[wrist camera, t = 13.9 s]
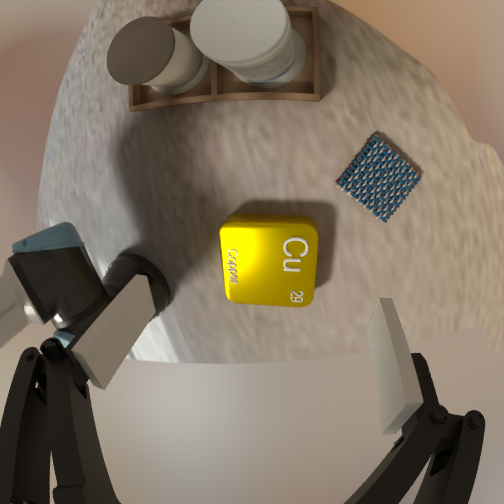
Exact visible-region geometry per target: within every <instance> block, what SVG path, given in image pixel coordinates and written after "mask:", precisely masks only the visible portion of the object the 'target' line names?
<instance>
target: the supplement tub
mask: <svg viewBox="0 0 504 504" xmlns="http://www.w3.org/2000/svg"><path fill="white" fill-rule="evenodd" d="M190 34H191V37H192V40H193V42H194V44H195V45H196V46H197V48H198V49H199V50H200V51H201V52H202V53H203V54H204V55H206V56H207V57H208V58H210V59H212V60H213V61H215V62H217V63H218V64H220V65H222V66H223V67H225V68H227V69H229V70H230V71H232V72H233V73H235V74H237V75H238V76H240V77H242V78H244V79H246V80H249V81H253V82H268V81H272V80H275V79H277V78H279V77H281V76H283V75H284V74H285V73H286V72H287V71H288V70H289V69H290V68H291V66H292V65H293V62H294V60H295V54H296V51H295V44H294V38H293V33H292V27H291V22H290V18H289V15H288V12H287V10H286V8H285V7H284V5H283V3H282V2H281V0H203V1H202V2H201V3H200V4H199V5H198V6H197V8H196V9H195V11H194V13H193V15H192V18H191V22H190Z"/></svg>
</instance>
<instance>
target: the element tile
mask: <svg viewBox="0 0 504 504" xmlns="http://www.w3.org/2000/svg"><path fill="white" fill-rule="evenodd" d="M318 239H319V238H318V229H317V224H316V221H315V220H314V219H313V218H311V217H309V216H305V215H274V214H233V215H230V216H229V217H228V218H227V219H226V220H225V221H224V223H223V224H222V226H221V227H220V230H219V243H220V253H221V262H222V271H223V280H224V288H225V294H226V296H227V298H228V299H229V300H230V301H232V302H235V303H241V304H254V305H268V306H284V307H305V306H308V305H309V304H311V302H312V301H313V298H314V288H315V278H316V266H317V253H318Z"/></svg>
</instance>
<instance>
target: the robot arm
mask: <svg viewBox="0 0 504 504" xmlns="http://www.w3.org/2000/svg"><path fill="white" fill-rule="evenodd" d="M84 245H85V244H84V242H82V240H81V238H80V236H79V234H78V232H77V230H76V228H75V226H74V225H73V224H72V223H70V222H63V223H60V224H57V225H55V226H52V227H50V228H47V229H45V230H42V231H40V232H38V233H35V234H33V235H31V236H29V237H27V238H24V239H22V240H20V241H18V242H16V243H14V244H13V245H12V252H13V253H14V255H12V256H11V257H9V258H8V259H7V260H6V262H5V266H4V271H3V274H2V275H1V276H0V349H1V348H2V347H3V346H4V345H5V344H7V343H8V342H9V341H10V340H11V339H12V338H13V337H14V336H16V335H17V334H18V333H19V332H20V331H22V330H23V329H24V328H25V327H26V326H27V325H29V324H31V323H33V324H38V325H42V326H43V325H44V324H45V323H47V322H48V321H49V320H51V321H52V323H53V324H54V326H55V327H56V329H57V331H55V332H54V335H53V337H52V338H49V339H46V340H45V341H44V342H43V343H42V345H41V346H40V350H41V352H42V354H40V352H39V351H38V349H37V348H35V347H30V348H27V349H26V350H25V351H23V353H22V355H21V357H20V359H19V362H18V365H17V368H16V371H15V374H14V377H13V380H12V383H11V387H10V390H9V394H8V397H7V401H6V405H5V409H4V413H3V417H2V422H1V426H0V504H50V491H49V490H50V484H49V483H50V480H49V479H50V455H51V452H52V458H53V464H54V470H55V475H56V480H57V487H56V488H54V489H53V499H54V502H55V504H121V503H120V502H119V501H118V499H117V497H116V495H115V492H114V490H113V487H112V484H111V481H110V478H109V475H108V472H107V469H106V465H105V462H104V458H103V455H102V451H101V448H100V443H99V439H98V436H97V431H96V427H95V422H94V417H93V412H92V406H91V400H90V394H89V387H88V384H87V383H86V382H87V381H88V379H90V381H91V382H92V384H93V385H94V386H96V387H99V388H101V389H103V390H105V389H106V387H107V385H108V384H109V382H110V380H111V379H112V377H113V376H114V374H115V373H116V371H117V369H118V368H119V366H120V365H121V363H122V362H123V360H124V359H125V357H126V356H127V354H128V352H129V351H130V349H131V348H132V346H133V345H134V343H135V342H136V340H137V339H138V337H139V336H140V334H141V333H142V331H143V330H144V328H145V327H146V325H147V324H148V323H149V322H150V321H151V320H152V319H154V318H157V317H158V316H160V315H161V314H162V313H163V311H164V310H165V308H166V307H167V305H168V303H169V300H170V292H169V287H168V284H167V282H166V280H165V278H164V277H163V275H162V274H161V272H160V271H159V270H158V269H157V268H156V267H155V266H154V265H153V264H152V263H150V262H149V261H147V260H146V259H144V258H142V257H140V256H137V255H132V254H125V255H121V256H119V257H118V258H116V259H115V260H114V261H113V262H112V263H111V264H110V265H109V267H108V269H107V271H106V275H105V276H104V278H103V280H102V281H101V279H100V277H99V276H98V274H97V272H96V270H95V268H94V266H93V264H92V262H91V260H90V257H89V255H88V253H87V251H86V249H85V246H84ZM367 339H368V344H369V350H370V355H371V361H372V367H373V373H374V380H375V387H376V395H377V402H378V411H379V420H380V431H381V435H385V434H396V433H397V432H398V431H399V430H400V429H401V428H402V436H401V437H400V438H399V439H398V440H397V441H396V442H395V443H394V444H395V445H394V446H393V448H392V449H391V451H390V452H389V453H388V454H387V456H386V457H385V458H384V459H383V461H382V462H381V463H380V464H379V466H378V467H377V468H376V469H375V470H374V472H373V473H372V474H371V475H370V476H369V477H368V479H367V480H366V481H365V482H364V483H363V484H362V485H361V486H360V487H359V489H358V490H357V491H356V492H355V493H354V494H353V495H352V496H351V497H350V498H349V499H348V500H347V501H346V502H345V503H344V504H398V503H399V502H400V501H401V499H402V498H403V497H404V495H405V494H406V493H407V492H408V490H409V489H410V487H411V486H412V485H413V483H414V482H415V480H416V479H417V477H418V476H419V474H420V473H421V471H422V470H423V468H424V466H425V465H426V463H427V462H428V460H429V458H430V457H431V459H430V462H429V465H428V468H427V471H426V473H425V476H424V479H423V481H422V484H421V486H420V489H419V491H418V494H417V496H416V499H415V500H414V503H413V504H468V501H469V499H470V495H471V492H472V489H473V485H474V481H475V478H476V474H477V470H478V465H479V461H480V455H481V450H482V445H483V438H484V430H485V419H484V416H483V415H482V414H481V413H480V412H478V411H476V410H472V411H469V412H468V413H467V414H466V415H465V416H460V415H454V414H450V413H448V411H447V409H446V408H445V407H443V406H442V405H440V404H439V402H438V398H437V395H436V391H435V388H434V384H433V381H432V378H431V374H430V372H429V368H428V365H427V362H426V360H425V358H424V357H423V356H422V355H421V353H410V350H409V347H408V344H407V341H406V338H405V335H404V332H403V329H402V326H401V323H400V320H399V317H398V314H397V311H396V309H395V306H394V303H393V301H392V298H379V299H378V302H377V306H376V309H375V312H374V315H373V318H372V321H371V324H370V327H369V330H368V332H367ZM36 382H37V384H38V387H37V388H36V387H35V386H36ZM431 455H432V456H431Z"/></svg>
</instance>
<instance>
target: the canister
mask: <svg viewBox="0 0 504 504" xmlns="http://www.w3.org/2000/svg"><path fill="white" fill-rule="evenodd" d="M202 62H203V53H202V52H201V51H200V50H199V49H198V48H197V46H196V45H195V44H194V42H193V40H192V39H191V38H189V37H188V36H186V35H184V34H183V33H181V32H179V31H177V30H176V29H174V28H172V27H170V25H169V24H167V23H166V22H165V21H163V20H161V19H159V18H156V17H142V18H138V19H136V20H133V21H131V22H130V23H128V24H127V25H125V26H124V27H123V28H122V29H121V30H120V31H119V32H118V33H117V34H116V36H115V37H114V39H113V41H112V42H111V45H110V47H109V50H108V54H107V67H108V71H109V73H110V75H111V76H112V78H113V79H114V80H116V81H117V82H119V83H121V84H125V85H149V86H157V87H164V88H178V87H181V86H184V85H186V84H187V83H189V82H190V81H192V80H193V79H194V78H195V76H196V75H197V74H198V72H199V71H200V69H201V66H202Z"/></svg>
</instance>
